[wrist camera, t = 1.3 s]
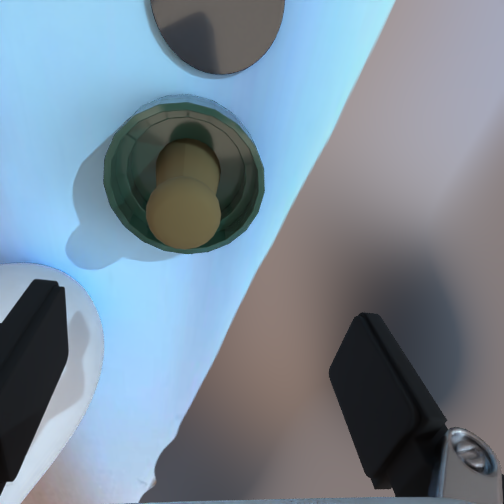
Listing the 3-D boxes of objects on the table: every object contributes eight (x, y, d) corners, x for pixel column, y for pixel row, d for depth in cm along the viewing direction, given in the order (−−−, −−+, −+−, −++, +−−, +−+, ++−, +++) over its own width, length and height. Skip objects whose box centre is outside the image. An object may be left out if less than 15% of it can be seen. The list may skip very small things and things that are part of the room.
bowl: (111, 218, 34) (100, 241, 30) (120, 75, 27) (107, 81, 24) (239, 240, 37) (243, 263, 33) (274, 116, 31) (283, 127, 27)
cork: (211, 207, 34) (214, 270, 25) (149, 191, 33) (128, 252, 23) (228, 149, 31) (239, 196, 22) (162, 128, 30) (144, 170, 20)
